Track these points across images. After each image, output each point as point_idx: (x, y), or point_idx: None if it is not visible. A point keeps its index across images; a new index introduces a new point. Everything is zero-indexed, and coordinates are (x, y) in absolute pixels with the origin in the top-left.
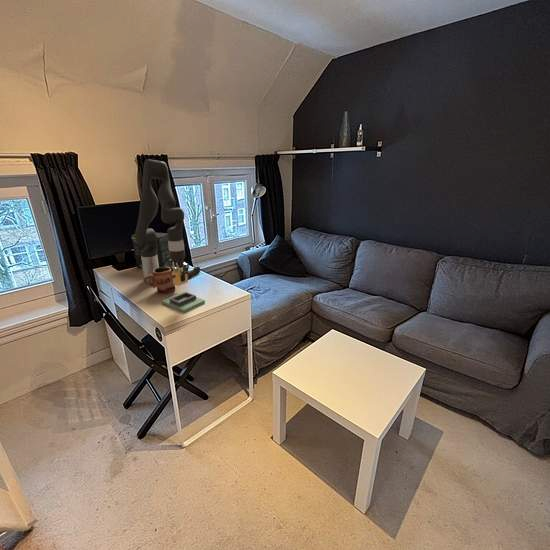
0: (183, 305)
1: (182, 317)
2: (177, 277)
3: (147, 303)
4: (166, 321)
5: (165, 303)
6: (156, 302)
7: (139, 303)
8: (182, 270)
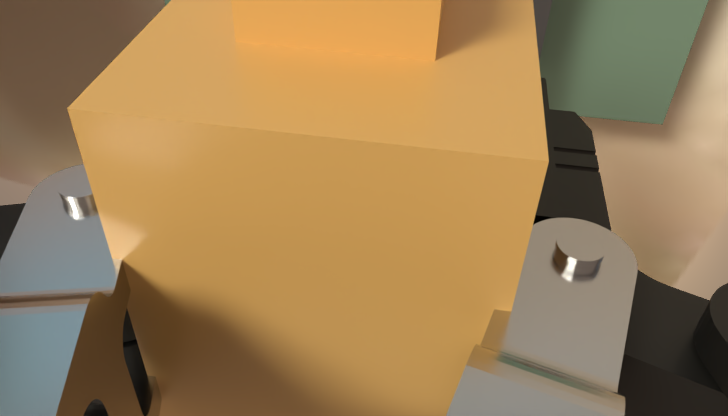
0: (562, 28)
1: (706, 188)
2: None
3: (74, 135)
4: None
5: None
6: None
7: (19, 170)
8: (399, 288)
